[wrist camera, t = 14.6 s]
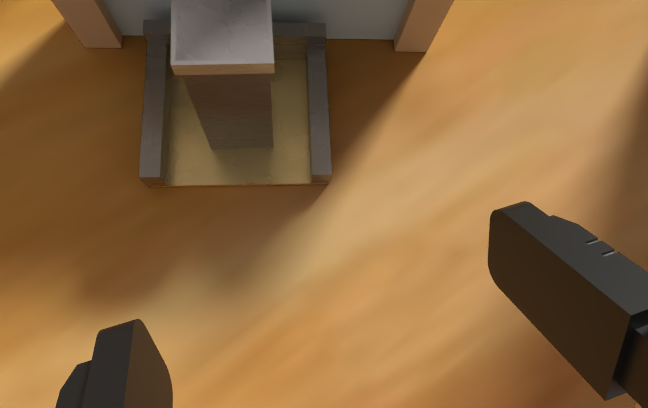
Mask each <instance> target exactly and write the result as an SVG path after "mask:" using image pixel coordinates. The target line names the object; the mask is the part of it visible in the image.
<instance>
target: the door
mask: <svg viewBox="0 0 648 408" xmlns="http://www.w3.org/2000/svg"><path fill="white" fill-rule="evenodd" d="M51 1H52V2H53V3H54V5H55V6H56V8H57V9H58V10H59V12H60V13H61V15H62V16H63V17H64V19H65V20H66V22H67V23H68V24H69V26H70V27H71V29H72V30H73V32H74V33H75V34H76V36H77V37H78V39H79V40H80V41H81V43H82V44H83V46H84V47H85V48H122V40H123V35H133V36H144V35H143V20H171V0H51ZM453 1H454V0H271V15H272V22H296V23H326V39H391V40H393V41H394V51H395V52H427V51H428V49H429V47H430V45H431V43H432V41H433V39H434V37H435V35H436V34H437V32H438V30H439V28H440V26H441V24H442V22H443V20H444V18H445V17H446V15H447V13H448V11H449V9H450V7H451V5H452V3H453Z"/></svg>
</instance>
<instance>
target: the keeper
mask: <svg viewBox="0 0 648 408" xmlns="http://www.w3.org/2000/svg"><path fill="white" fill-rule="evenodd" d="M272 33H273V50H274V72H275V73H270V82H271V102H272V123H273V144H274V147H268V148H242V149H217V150H211V148H210V145H209V143H208V140H207V138H206V135H205V133H204V130H203V128H202V125H201V123H200V120H199V118H198V116H197V113H196V111H195V108H194V106H193V103H192V101H191V98H190V96H189V93H188V91H187V88H186V86H185V83H184V81H183V78H182V76H181V75H175V74H174V72H173V70H172V67H171V20H143V35H144V38H145V40H146V42H147V56H146V71H145V87H144V102H143V118H142V133H141V149H140V164H139V178H140V179H141V180H142V181H143V182H144V183H145V184H146V185H147V186H148V187H207V186H264V185H321V184H329V182H330V179H331V176H332V164H331V146H330V127H329V109H328V91H327V72H326V54H325V43H326V23H296V22H272Z"/></svg>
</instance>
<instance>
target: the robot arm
mask: <svg viewBox="0 0 648 408" xmlns="http://www.w3.org/2000/svg"><path fill="white" fill-rule="evenodd" d="M488 267H489V271H490V274H491V276H492V278H493V280H494V282H495V284H496V285H497V286H498V287H499V289H500V290H501V291H502V292H503V293H504V294H505V295H506V296H507V297H508V298H509V299H510V300H511V301H512V302H513V303H514V305H515V306H516V307H517V308H518V309H519V310H520V311H521V312H522V313H523V314H524V315H525V316H526V317H527V318H528V319H529V320H530V322H531V323H532V324H533V325H534V326H535V327H536V328H537V329H538V330H539V331H540V332H541V333H542V334H543V335H544V336H545V337H546V338H547V340H548V341H549V342H550V343H551V344H552V345H553V346H554V347H555V348H556V349H557V350H558V351H559V352H560V353H561V354H562V355H563V357H564V358H565V359H566V360H567V361H568V362H569V363H570V364H571V365H572V366H573V367H574V368H575V369H576V370H577V371H578V372H579V373H580V375H581V376H582V377H583V378H584V379H585V380H586V381H587V382H588V383H589V384H590V385H591V386H592V387H593V388H594V389H595V390H596V392H597V393H598V394H599V395H600V396H601V397H602V398H603V399H604V400H605V401H606V400H609V399H611V398H614V397H616V396H619V395H621V394H624V393H626V392H627V393H628V394H629V395H630V396H631V397H632V398H633V399H634V400H635V401H636V402H635V406H634V408H648V272H646V271H645V270H643V269H642V268H641V267H639V266H638V265H636V264H635V263H633V262H632V261H630V260H629V259H628V258H626V257H625V256H623V255H622V254H620V253H619V252H618V253H615V251H614V249H613V248H612V247H610V246H609V245H607V244H606V243H604V242H603V241H599V240H598V238H597V237H596V236H594V235H593V234H591V233H590V232H588V231H587V230H585V229H584V228H583V227H581V226H580V225H578V224H576V223H573V222H570V221H568V220H565V219H562V218H559V217H557V216H554V215H553V216H550V217H549V216H548V215H547V214H545V213H544V212H542V211H541V210H540V209H538V208H537V207H535V206H534V205H533V204H531V203H529V202H526V201H524V202H520V203H517V204H513V205H510V206H507V207H504V208H500V209H497V210H494V211H493V212H492V214H491V216H490V229H489V248H488ZM172 407H173V392H172V384H171V379H170V375H169V372H168V369H167V366H166V364H165V362H164V360H163V359H162V357H161V355H160V353H159V351H158V349H157V347H156V345H155V344H154V342H153V340H152V338H151V336H150V334H149V332H148V330H147V329H146V327H145V325H144V323H143V322H142V321H141V320H140V319H135V320H132V321H129V322H126V323H122V324H119V325H116V326H113V327H109V328H106V329H103V330H100V331H99V333H98V335H97V338H96V343H95V347H94V352H93V357H92V360H91V361H87V362H84V363H81V364H78V365H77V366H76V367H75V369H74V370H73V372H72V373H71V375H70V376H69V378H68V379H67V381H66V382H65V384H64V385H63V387H62V388H61V390H60V393H59V397H58V400H57V404H56V408H172Z"/></svg>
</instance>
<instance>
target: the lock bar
mask: <svg viewBox="0 0 648 408" xmlns="http://www.w3.org/2000/svg"><path fill="white" fill-rule="evenodd" d="M171 67H172V70H173V72H174V74H175V75H181V76H182V78H183V81H184V83H185V86H186V88H187V91H188V93H189V96H190V98H191V101H192V103H193V106H194V108H195V111H196V113H197V116H198V118H199V120H200V123H201V125H202V128H203V130H204V133H205V135H206V138H207V140H208V143H209V145H210V148H211V150H217V149H242V148H268V147H274V144H273V123H272V102H271V82H270V73H275V72H274V50H273V33H272V15H271V0H171Z"/></svg>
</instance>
